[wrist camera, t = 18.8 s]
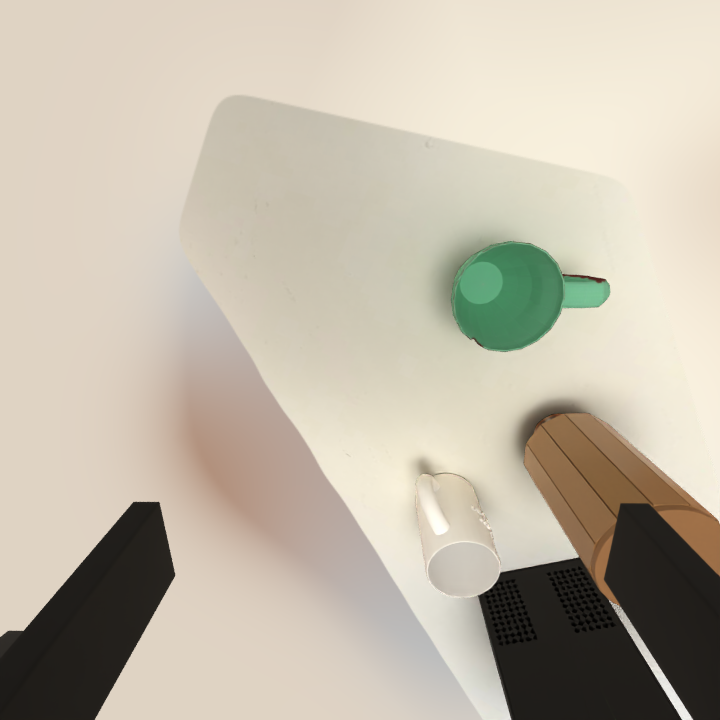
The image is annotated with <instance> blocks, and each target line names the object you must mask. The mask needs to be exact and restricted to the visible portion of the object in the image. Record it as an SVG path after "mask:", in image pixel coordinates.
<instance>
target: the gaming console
mask: <svg viewBox="0 0 720 720" xmlns="http://www.w3.org/2000/svg"><path fill="white" fill-rule="evenodd" d="M478 597H479V601H480V605H481V608H482V612H483V616H484V620H485V624H486V628H487V632H488V635H489V639H490V643H491V647H492V651H493V655H494V658H495V662H496V665H497V669H498V673H499V676H500V680H501V684H502V687H503V691H504V694H505V698H506V702H507V705H508V709H509V713H510V716H511V720H682V719H681V717H680V716H679V714H678V712H677V711H676V709H675V708H674V706H673V704H672V703H671V701H670V700H669V698H668V696H667V695H666V693H665V691H664V690H663V688H662V687H661V685H660V683H659V682H658V680H657V678H656V677H655V675H654V674H653V672H652V670H651V669H650V667H649V665H648V664H647V662H646V661H645V659H644V657H643V656H642V654H641V652H640V651H639V649H638V648H637V646H636V644H635V643H634V641H633V640H632V638H631V636H630V635H629V633H628V631H627V630H626V628H625V627H624V625H623V623H622V622H621V620H620V618H619V617H618V615H617V614H616V612H615V610H614V609H613V607H612V605H611V604H610V602H609V601H608V599H607V597H606V596H605V595H604V594H603V593H602V592H601V591H600V590H599V588H598V587H597V585H596V583H595V582H594V580H593V578H592V577H591V575H590V573H589V572H588V570H587V568H586V567H585V565H584V564H583V562H582V560H581V559H580V558H577V559H572V560H567V561H561V562H556V563H551V564H546V565H540V566H535V567H530V568H525V569H520V570H514V571H509V572H504V573H500V574H499V578H498V579H497V581H496V583H495V584H494V585H493V586H492V587H491V588H490V589H489V590H487V591H486V592H484V593H482V594H480V595H478Z"/></svg>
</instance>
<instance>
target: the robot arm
mask: <svg viewBox="0 0 720 720" xmlns="http://www.w3.org/2000/svg"><path fill="white" fill-rule="evenodd" d="M174 577H175V572H174V567H173V562H172V558H171V553H170V549H169V544H168V540H167V535H166V530H165V526H164V521H163V517H162V512H161V507H160V503H159V502H133V503H132V504H131V506H130V507H129V508H128V509H127V510H126V512H125V513H124V514H123V515H122V516H121V517H120V519H119V520H118V521H117V522H116V523H115V524H114V526H113V527H112V528H111V529H110V530H109V531H108V533H107V534H106V535H105V536H104V537H103V539H102V540H101V541H100V542H99V543H98V544H97V545H96V547H95V548H94V549H93V550H92V551H91V553H90V554H89V555H88V556H87V557H86V558H85V560H84V561H83V562H82V563H81V564H80V565H79V567H78V568H77V569H76V570H75V571H74V573H73V574H72V575H71V576H70V577H69V578H68V579H67V581H66V582H65V583H64V584H63V586H62V587H61V588H60V589H59V590H58V591H57V592H56V594H55V595H54V596H53V597H52V598H51V599H50V601H49V602H48V603H47V604H46V605H45V606H44V608H43V609H42V610H41V611H40V612H39V614H38V615H37V616H36V617H35V618H34V619H33V621H32V622H31V623H30V624H29V625H28V627H27V628H26V629H25V630H24V631H8V632H6V633H5V634H4V635H3V636H1V637H0V720H95V718H96V716H97V715H98V713H99V711H100V709H101V707H102V706H103V704H104V702H105V700H106V698H107V697H108V695H109V693H110V691H111V689H112V688H113V686H114V684H115V682H116V680H117V679H118V677H119V675H120V673H121V672H122V670H123V668H124V666H125V664H126V662H127V661H128V659H129V657H130V656H131V654H132V652H133V650H134V648H135V647H136V645H137V643H138V641H139V639H140V638H141V636H142V634H143V632H144V631H145V629H146V627H147V625H148V623H149V622H150V620H151V618H152V616H153V614H154V612H155V611H156V609H157V607H158V605H159V604H160V602H161V600H162V598H163V597H164V595H165V593H166V591H167V589H168V588H169V586H170V584H171V582H172V580H173V579H174ZM604 581H605V582H606V584H607V586H608V587H609V589H610V590H611V592H612V593H613V595H614V596H615V598H616V600H617V601H618V603H619V604H620V606H621V607H622V609H623V611H624V612H625V614H626V615H627V617H628V618H629V620H630V622H631V623H632V625H633V626H634V628H635V629H636V631H637V632H638V634H639V636H640V637H641V639H642V640H643V642H644V643H645V645H646V647H647V648H648V650H649V651H650V653H651V654H652V656H653V658H654V659H655V661H656V662H657V664H658V665H659V667H660V668H661V670H662V672H663V673H664V675H665V676H666V678H667V679H668V681H669V683H670V684H671V686H672V687H673V689H674V690H675V692H676V694H677V695H678V697H679V698H680V700H681V701H682V703H683V704H684V706H685V708H686V709H687V711H688V712H689V714H690V715H691V717H692V719H693V720H720V576H719V575H718V574H717V573H716V572H715V571H714V570H713V569H712V568H711V567H710V566H709V565H708V564H707V563H706V562H705V561H704V560H703V559H702V558H701V557H700V556H699V555H698V554H697V553H696V552H695V551H694V550H693V548H692V547H691V546H690V545H689V544H688V543H687V542H686V541H685V540H684V539H683V538H682V537H681V536H680V535H679V534H678V533H677V532H676V531H675V530H674V529H673V528H672V527H671V526H670V525H669V524H668V523H667V522H666V521H665V520H664V519H663V518H662V517H661V515H660V514H659V513H658V512H657V511H656V510H655V509H654V508H653V507H652V506H651V505H650V504H649V503H620V508H619V512H618V517H617V521H616V526H615V530H614V535H613V540H612V544H611V549H610V553H609V558H608V562H607V567H606V571H605V576H604Z"/></svg>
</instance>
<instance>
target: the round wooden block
mask: <svg viewBox="0 0 720 720" xmlns="http://www.w3.org/2000/svg"><path fill="white" fill-rule="evenodd" d="M541 425H542V426H541ZM541 425H540V426H539V427H538V429H537V430H536V431H535V432H534V434H533V435H532V436H531V437H530V439H529V440H528V441H527V444H526V448H525V456H524V465H525V467H526V469H527V471H528V473H529V474H530V476H531V478H532V480H533V481H534V483H535V485H536V486H537V488H538V490H539V491H540V493H541V495H542V496H543V498H544V500H545V501H546V503H547V504H548V506H549V508H550V509H551V511H552V513H553V514H554V516H555V518H556V519H557V521H558V523H559V524H560V526H561V527H562V529H563V531H564V532H565V534H566V536H567V537H568V539H569V541H570V542H571V544H572V546H573V547H574V549H575V550H576V552H577V554H578V555H579V557H580V559H581V560H582V562H583V564H584V565H585V567H586V568H587V570H588V572H589V573H590V575H591V577H592V578H593V580H594V582H595V583H596V585H597V587H598V588H599V590H600V591H601V592H602V593H603V594H604V595H605V596H606V597H607V598H608V599H609V600H611V601H612V602H613V603H615V604H617V605H619V606H620V604H619V603H618V601H617V600H616V598H615V596H614V595H613V593H612V592H611V590H610V589H609V587H608V586H607V584H606V582H605V581H604V576H605V571H606V567H607V562H608V558H609V553H610V549H611V544H612V540H613V535H614V530H615V526H616V521H617V517H618V512H619V508H620V503H649V504H650V505H651V506H652V507H653V508H654V509H655V510H656V511H657V512H658V513H659V514H660V515H661V517H662V518H663V519H664V520H665V521H666V522H667V523H668V524H669V525H670V526H671V527H672V528H673V529H674V530H675V531H676V532H677V533H678V534H679V535H680V536H681V537H682V538H683V539H684V540H685V541H686V542H687V543H688V544H689V545H690V546H691V547H692V548H693V550H694V551H695V552H696V553H697V554H698V555H699V556H700V557H701V558H702V559H703V560H704V561H705V562H706V563H707V564H708V565H709V566H710V567H711V568H712V569H713V570H714V571H715V572H716V573H717V574H718V575H719V576H720V524H719V521H718V520H717V519H716V518H715V517H714V516H713V515H712V514H711V513H710V512H708V511H707V510H706V509H705V508H704V507H703V506H701V505H700V504H699V503H698V502H697V501H696V500H695V499H693V498H692V497H691V496H690V495H689V494H688V493H687V492H685V491H684V490H683V489H682V488H681V487H680V486H679V485H677V484H676V483H675V482H674V481H673V480H672V479H671V478H669V477H668V476H667V475H666V474H665V473H664V472H663V471H661V470H660V469H659V468H658V467H657V466H656V465H655V464H653V463H652V462H651V461H650V460H649V459H648V458H646V457H645V456H644V455H643V454H642V453H641V452H640V451H638V450H637V449H636V448H635V447H634V446H633V445H632V444H630V443H629V442H628V441H627V440H626V439H625V438H624V437H622V436H621V435H620V434H619V433H618V432H617V431H616V430H614V429H613V428H612V427H611V426H610V425H609V424H607V423H606V422H604V421H602V420H600V419H598V418H597V417H595V416H593V415H591V414H588V413H565V414H562V415H559V416H557V417H555V418H553V419H551V420H549V421H547V422H545V423H543V424H541Z"/></svg>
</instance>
